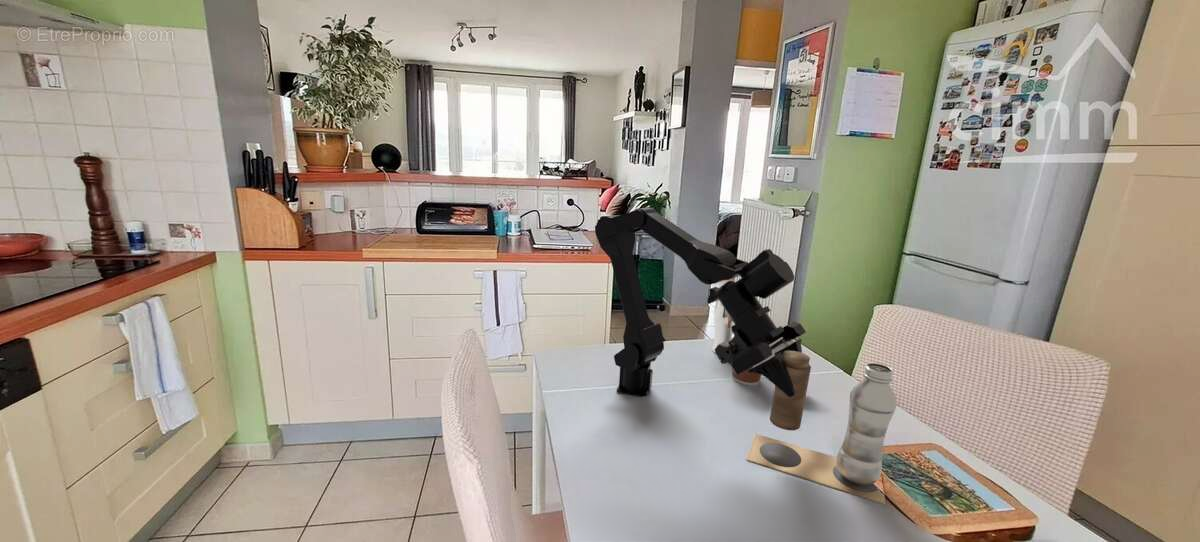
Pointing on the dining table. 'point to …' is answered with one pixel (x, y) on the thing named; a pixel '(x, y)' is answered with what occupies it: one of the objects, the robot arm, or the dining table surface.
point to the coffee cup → (746, 376)
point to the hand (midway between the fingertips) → (798, 390)
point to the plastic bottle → (867, 426)
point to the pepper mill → (791, 408)
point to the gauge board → (807, 466)
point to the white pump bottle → (722, 325)
